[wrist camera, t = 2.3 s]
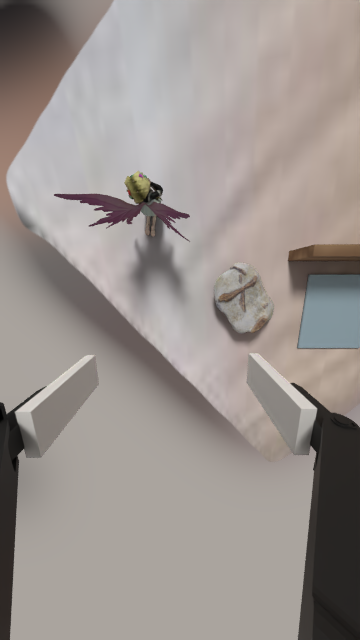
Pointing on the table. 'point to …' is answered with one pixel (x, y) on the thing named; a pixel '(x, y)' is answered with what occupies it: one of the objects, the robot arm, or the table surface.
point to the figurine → (123, 210)
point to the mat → (331, 312)
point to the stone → (243, 298)
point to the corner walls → (326, 253)
